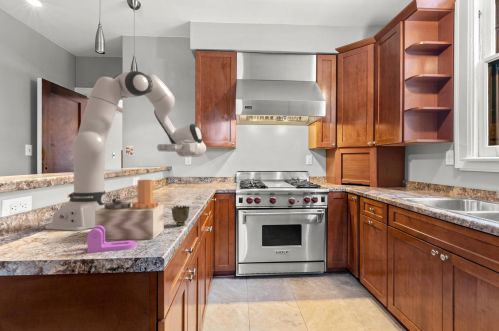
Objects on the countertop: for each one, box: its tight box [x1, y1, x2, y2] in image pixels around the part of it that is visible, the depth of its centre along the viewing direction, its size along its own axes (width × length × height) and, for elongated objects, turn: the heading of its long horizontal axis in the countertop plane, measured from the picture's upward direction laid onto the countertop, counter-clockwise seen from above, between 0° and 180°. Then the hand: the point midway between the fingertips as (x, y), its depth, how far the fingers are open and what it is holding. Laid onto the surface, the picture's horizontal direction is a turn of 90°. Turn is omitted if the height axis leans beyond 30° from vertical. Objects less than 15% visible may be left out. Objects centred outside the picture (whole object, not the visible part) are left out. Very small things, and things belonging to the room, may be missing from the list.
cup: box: [171, 205, 190, 227], centre depth 116 cm, size 8×7×8 cm
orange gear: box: [131, 179, 159, 209], centre depth 102 cm, size 9×9×10 cm
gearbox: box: [95, 198, 165, 240], centre depth 102 cm, size 20×13×14 cm, turn 92°
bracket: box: [87, 225, 137, 254], centre depth 86 cm, size 13×6×7 cm, turn 109°
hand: (165, 147), depth 131 cm, fingers open, 8 cm apart
